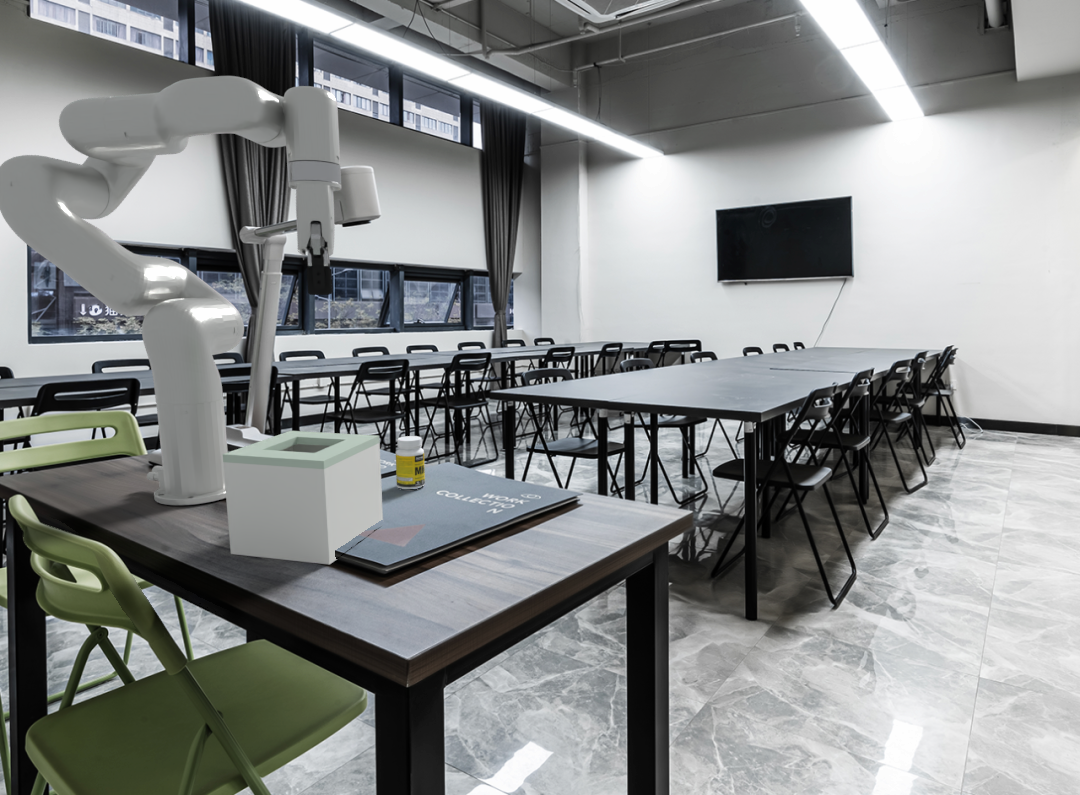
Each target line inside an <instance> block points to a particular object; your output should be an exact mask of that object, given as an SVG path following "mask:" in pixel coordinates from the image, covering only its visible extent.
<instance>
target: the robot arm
mask: <svg viewBox="0 0 1080 795" xmlns="http://www.w3.org/2000/svg"><path fill="white" fill-rule="evenodd" d="M338 110H339V109H338V102H337V99H336V97H335V95H334V94H333V93H332V92H331V91H329V90H327V89H324V88H322V87H317V86H310V85H305V86H304V85H299V86H293V87H290V88H288V89H287V90H286V91H285V92H284V95H283V96H281V95H278V94H276V93H273V92H272V91H269V90H267V89H266V88H264V87H263V86H261V85H260V84H258V83H256V82H254V81H252V80H250V79H248V78H246V77H245V78H244V77H240V76H237V75H236V76H235V75H219V76H218V75H217V76H216V75H215V76H203V77H191V78H185V79H180V80H178V81H176V82H173V83H172V84H170V85H168V86H166V87H165V88H163V89H161V91H159V92H151V93H150V92H149V93H140V94H126V95H116V96H115V95H114V96H101V97H100V96H99V97H91V98H90V97H89V98H82V99H77V100H74V101H73V102H70V103H68V104H67V105H65V106H64V107H63V109H62V110H61V112H60V115H59V119H58V127H59V130H60V133H61V134H62V137H63V138H64V140H65V141H66V142H67V144H69V145H70V146H71V147H72V149H74V150H75V151H77V152H78V153H80V154H81V155H85V156H86V157H87V158H85V161H84V162H83V163H82V164H81V163H80V164H79V163H76V162H72V161H67V160H64V159H59V158H54V157H50V156H45V155H36V154H34V155H33V154H23V155H18V156H13V157H11V158H8V159H7V160H5V161H4V162H2V164H0V212H1V213H0V214H1V215H2V218H3V219H4V221H5V223H6V224H7V225H8V226H9V228H10V229H11V230H12V231H13V233H15V235H16V236H17V237H18V238H19V239H21V241H23V242H24V244H26V245H28V247H29V248H31V249H32V250H34V252H36V253H38V254H39V255H40V256H42V257H43V258H45V260H47V261H49V262H50V263H52V265H54V266H55V267H57V268H58V269H59V270H60V271H62V272H63V273H64V274H66V275H67V276H68V277H69V278H71V280H73V281H74V282H76V283H77V284H78V285H79V286H81V287H82V288H83V289H84V290H86V291H87V292H88V293H90V294H91V295H92V296H94V298H96V299H98V301H100V302H101V303H103V304H104V305H106V307H107V308H109V309H110V310H112V311H114V312H115V313H117V314H119V315H122V316H129V317H137V316H144V318H143V319H142V320H143V321H142V324H141V325H142V326H141V334H142V336H141V337H142V341H143V345H144V348H145V351H146V355H147V357H148V361H149V365H150V368H151V374H152V380H153V387H154V388H153V389H154V397H155V404H156V413H157V422H158V423H157V424H158V432H159V433H158V434H159V441H160V442H159V443H160V451H161V452H160V453H161V464H162V465H154V466H153V467H152V469H151V471H149V472H147V474H146V479H147V480H148V481H155V482H156V481H158V485H159V487H158V488H157V489H156V490H155V491H154V492H153V496H154V501H155V502H156V503H159V504H161V505H168V506H192V505H200V504H201V505H202V504H206V503H211V502H216V501H219V500H225V499H226V490H225V478H224V466H223V454H225V453H228V452H229V451H228V450H229V449H228V442H227V428H226V415H225V406H224V405H225V403H224V394H223V386H222V385H223V384H222V380H221V379H222V378H221V374H220V372H219V369H218V366H217V365H216V362H215V360H214V356H215V355H220V354H224V353H227V352H230V351H231V350H233V349H234V348H236V347H238V345H239V344H240V342H241V341H242V339H243V337H244V332H245V324H244V323H245V322H244V320H243V317H242V315H241V313H240V311H239V310H238V308H236V306H235V305H234V304H233V303H231V302H230V300H228V299H227V298H226V297H225V296H223V295H222V294H221V293H220V292H219V291H217V290H216V289H214V287H212V286H211V285H209V284H208V283H207V282H206V281H204V280H202V279H201V278H200V277H199V276H198V275H196V274H195V273H194V272H192V271H191V270H190V269H189V268H187V267H186V266H184V265H182V264H180V263H179V262H177V261H174V260H172V259H169V258H165V257H160V256H151V255H150V256H149V255H141V254H138V253H134V252H133V251H130V250H129V249H127V248H125V247H124V246H122V245H121V244H120V243H118V242H117V241H116V240H114V239H113V238H111V236H109V235H108V234H107V233H106V232H104V231H103V230H102V229H100V228H98V227H97V226H95V225H94V224H92V223H90V222H89V221H86V220H99V219H103V218H105V217H108V216H109V215H111V214H112V213H113V212H115V211H116V210H117V208H118V207H120V205H121V204H122V203H123V201H124V200H125V199H126V198H127V197H128V195H129V194H130V193H131V191H132V190H133V189H134V187H136V185H137V184H138V182H140V180H141V179H142V178H143V176H144V175H145V173H146V172H147V171H148V170H149V168H150V167H151V166H152V164H153V162H154V161H155V158H156V157H157V156H163V155H176V154H180V153H181V152H183V151H184V150H185V149H186V147H187V146H188V142H189V138H191V137H197V136H205V135H219V134H235V135H237V136H240V137H242V138H244V139H247V140H250V141H252V142H253V143H256V144H258V145H261V146H264V147H266V148H283V147H286V149H285V150H286V163H287V164H286V165H287V166H286V167H287V180H288V188H289V189H293V190H295V215H296V218H295V219H296V236H297V237H296V240H297V251H298V253H299V254H301V255H302V256H303V257H305V256H307V266H306V278H307V293H308V295H311V296H313V295H314V296H320V295H321V296H330V295H332V294H333V291H334V290H333V272H332V271H333V270H332V268H331V262H330V257H331V256H332V255H333V254H334V247H335V203H334V202H335V200H334V192H336V191H337V192H339V191H341V190H342V172H341V171H342V170H341V155H340V154H341V151H340V149H341V148H340V129H339V112H338ZM306 254H307V255H306Z"/></svg>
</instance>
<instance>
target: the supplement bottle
mask: <svg viewBox="0 0 1080 795" xmlns="http://www.w3.org/2000/svg"><path fill="white" fill-rule="evenodd" d="M422 439H423V438H422V436H417V435H409V436H408V435H407V436H400V437H398V438H397V448H398V449H397V450H396V451H395V468H396V470H395V472H396V473H395V474H396V475H395V476H396V487H398V488H402V489H412V488H418V487H422V486H424V485H426V475H425V472H426V471H425V470H426V469H425V450H424V449H423V448H422V446H423V440H422ZM424 487H425V486H424ZM398 488H397V489H398Z"/></svg>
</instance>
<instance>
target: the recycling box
mask: <svg viewBox="0 0 1080 795" xmlns="http://www.w3.org/2000/svg"><path fill="white" fill-rule="evenodd" d="M380 441H381V440H380V435H373V434H372V435H371V434H355V433H354V434H353V433H352V434H351V433H338V432H337V433H335V432H319V431H302V430H289V431H286V432H284V433H280V434H278V435H275V436H271V437H269V438H266V439H262V440H260V441H257V442H255V443H252V444H248V445H246V446H243V447H242V446H241V447H239V448H238V449H237V448H236V449H234V450H231V451H228V453H225V454H223V466H224V478H225V490H226V498H225V499H226V500H225V501H226V511H227V523H228V524H227V526H228V534H229V535H228V536H229V548H230V555H238V556H245V557H247V556H248V557H257V558H265V559H274V560H284V561H293V562H301V563H313V564H322V565H331V564H332V563H334V562H335V561H337V559H336V557H335V550H337V549H338V548H340V547H341V546H343V545H345V544H346V543H348V542H349V541H351V540H352V539H353V538H355V537H356V536H358V535H359V534H361V533H362V532H364V531H365V530H367V529H368V528H370V527H371V526H373V525H375V524H376V523H378V522H379V521H381V520H383V521H384V514H383V513H384V512H383V494H382V491H383V490H382V474H381V473H382V470H381V468H382V466H381V450H380V449H381V448H380V447H381V444H380Z"/></svg>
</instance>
